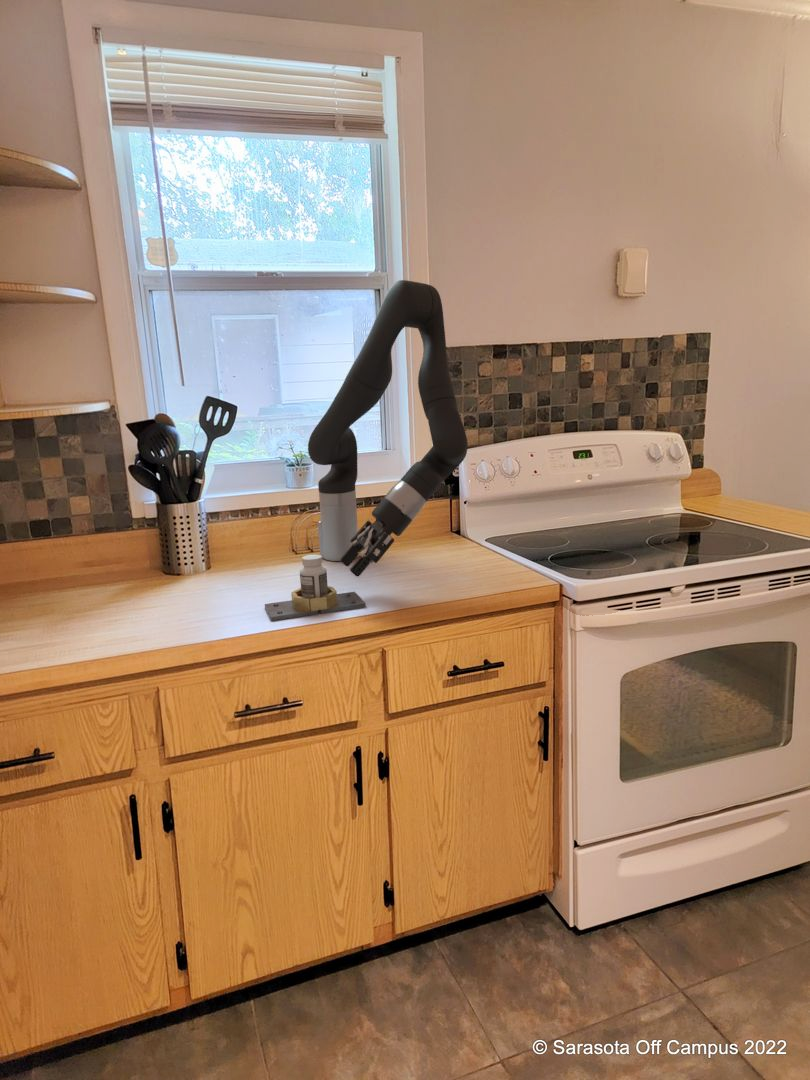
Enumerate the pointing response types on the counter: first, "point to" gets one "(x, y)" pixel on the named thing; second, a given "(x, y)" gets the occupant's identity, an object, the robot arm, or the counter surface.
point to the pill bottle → (313, 577)
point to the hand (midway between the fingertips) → (348, 568)
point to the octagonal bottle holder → (313, 604)
